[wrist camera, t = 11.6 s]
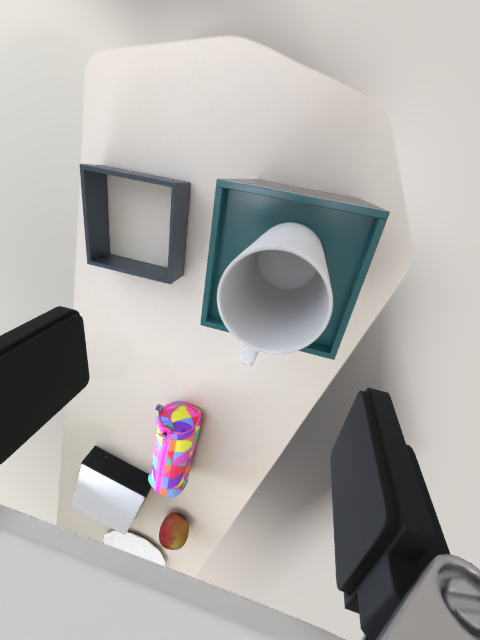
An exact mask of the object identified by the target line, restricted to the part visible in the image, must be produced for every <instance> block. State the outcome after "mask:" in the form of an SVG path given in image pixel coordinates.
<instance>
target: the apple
mask: <svg viewBox="0 0 480 640" xmlns="http://www.w3.org/2000/svg"><path fill="white" fill-rule="evenodd" d="M188 533H189V524H188V521H187V520H186V519H185V518H183V517H182V516H180V515H179V514H177V513H171V514H169V515H168V516H167V517H166V518H165V519H164V521H163V523H162V525H161V527H160V532H159V540H160V543H161V545H162V546H163V547H164V548H166V549H170V550H177V549H180V548H181V547H182V546H183V545H184V544H185V542H186V540H187V538H188Z"/></svg>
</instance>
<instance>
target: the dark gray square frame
mask: <svg viewBox="0 0 480 640" xmlns="http://www.w3.org/2000/svg"><path fill="white" fill-rule="evenodd" d="M106 174H109V175H114V176H119V177H124V178H129V179H134V180H139V181H144V182H149V183H154V184H159V185H164V186H169V187H172V198H171V218H170V238H169V257H168V268H166V267H162V266H158V265H153V264H149V263H145V262H141V261H137V260H132V259H128V258H124V257H120V256H116V255H111V254H110V247H109V223H108V200H107V176H106ZM80 176H81V188H82V201H83V214H84V226H85V239H86V252H87V264H90V265H94V266H98V267H102V268H106V269H111V270H115V271H119V272H123V273H127V274H131V275H135V276H139V277H143V278H147V279H151V280H155V281H159V282H163V283H168V284H172V283H173V282H174V281H176V280H177V279H179V278H180V277H181V276H183V275H184V262H185V249H186V236H187V223H188V210H189V197H190V184H191V183H190V182H185V181H180V180H175V179H169V178H164V177H159V176H154V175H149V174H144V173H139V172H134V171H128V170H123V169H118V168H113V167H108V166H103V165H88V164H80Z"/></svg>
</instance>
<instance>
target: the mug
mask: <svg viewBox="0 0 480 640" xmlns="http://www.w3.org/2000/svg"><path fill="white" fill-rule="evenodd" d="M217 304H218V310H219V313H220V316H221V319H222V321H223V323H224V325H225V326H226V328H227V329H228V331H229V332H230V333H231V334H232V335H233V336H234V337H235V338H236V339H237V340H238V341H239V342H241V343H242V344H243V345H245V347H244V349H243V352H242V354H241V357H240V362H241V363H242V364H244V365H247V366H252V365H253V363H254V361H255V359H256V356H257V354H258V352H262V353H267V354H286V353H291V352H295V351H298V350H300V349H303V348H305V347H306V346H308V345H310V344H311V343H312V342H314V341H315V340H316V339H317V338H318V337H319V336H320V335H321V334H322V332H323V331H324V330H325V328H326V326H327V325H328V322H329V320H330V317H331V314H332V309H333V294H332V289H331V284H330V279H329V274H328V269H327V265H326V260H325V255H324V251H323V247H322V244H321V242H320V240H319V238H318V236H317V235H316V234H315V233H314V232H313V231H312V230H311V229H310V228H308V227H306V226H304V225H302V224H299V223H293V222H287V223H282V224H278V225H276V226H274V227H272V228H271V229H269V230H268V231H267V232H266V233H264V234H263V235H262V236H260V237H259V238H258V239H257V240H256V241H255V242H254V243H252V244H251V245H250V246H249V247H248V248H247V249H245V250H244V251H243V252H242V253H241V254H240V255H239V256H238V257H237V258H235V259H234V260H233V261H232V262H231V263H230V264H229V266H228V267H227V268H226V270H225V271H224V273H223V275H222V277H221V279H220V282H219V286H218V291H217Z"/></svg>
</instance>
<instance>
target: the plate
mask: <svg viewBox="0 0 480 640" xmlns="http://www.w3.org/2000/svg"><path fill="white" fill-rule="evenodd" d="M103 543H104V544H107V545H109V546H112V547H115V548H117V549H120V550H123V551H125V552H128V553H131V554H133V555H136V556H138V557H141V558H144V559H146V560H149V561H152V562H154V563H157V564H159V565H162V566H165V564H166V561H165V559H164V558H163V556H162V554H161V552H160V551H159V550H158V549H157V548H156V547H155V546H154V545H153V544H152V543H151V542H149V541H148V540H147V539H145V538H143V537H141V536H139V535H137V534H134V533H130V532H127V533H126V535H123V534H122V533H120V532H118V531H112V532H110V533H108V534H105V536H104V542H103Z"/></svg>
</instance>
